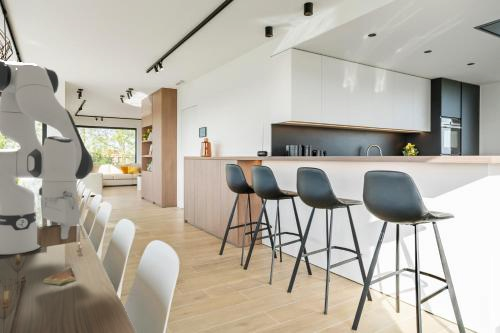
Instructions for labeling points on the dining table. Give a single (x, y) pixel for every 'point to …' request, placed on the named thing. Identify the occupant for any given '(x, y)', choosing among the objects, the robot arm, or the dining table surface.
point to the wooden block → (56, 235)
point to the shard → (61, 277)
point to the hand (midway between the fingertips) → (59, 236)
